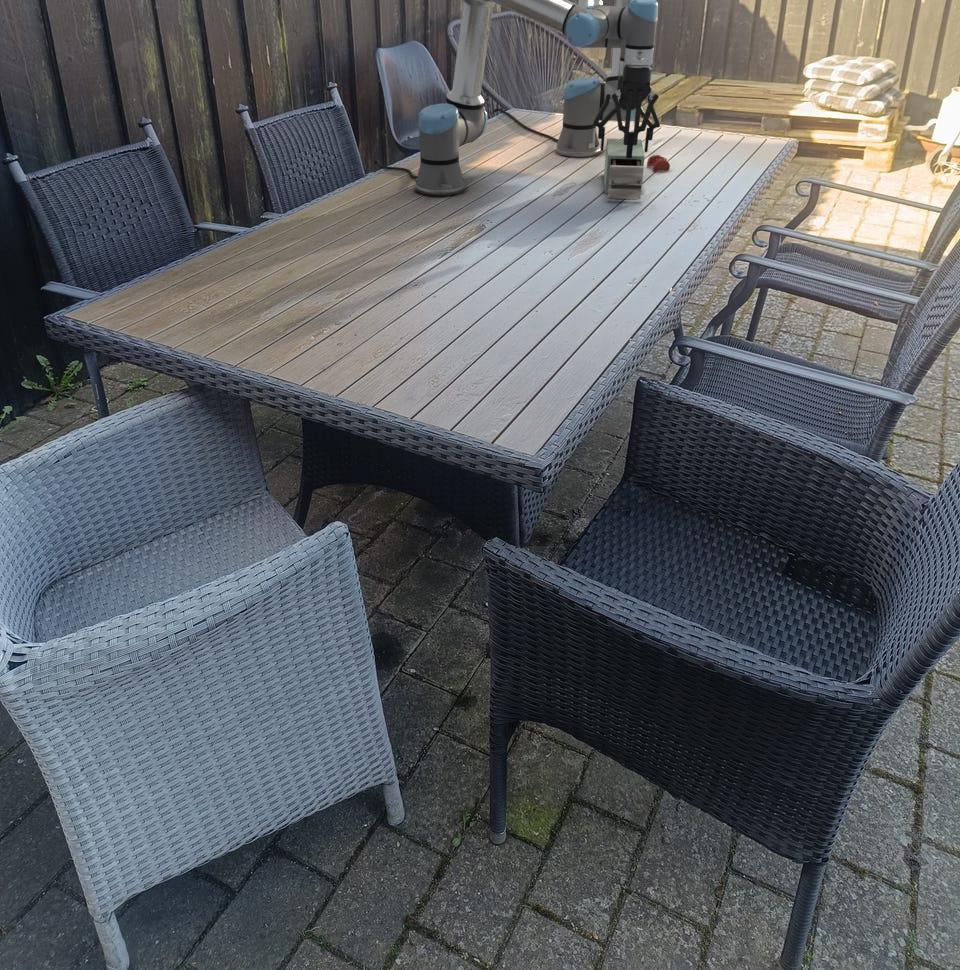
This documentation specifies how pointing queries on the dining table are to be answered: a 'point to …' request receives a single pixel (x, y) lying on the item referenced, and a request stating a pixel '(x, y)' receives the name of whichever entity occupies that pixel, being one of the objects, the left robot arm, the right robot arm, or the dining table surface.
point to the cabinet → (620, 155)
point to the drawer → (625, 179)
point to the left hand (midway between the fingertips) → (628, 156)
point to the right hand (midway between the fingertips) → (623, 150)
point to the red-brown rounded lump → (658, 163)
